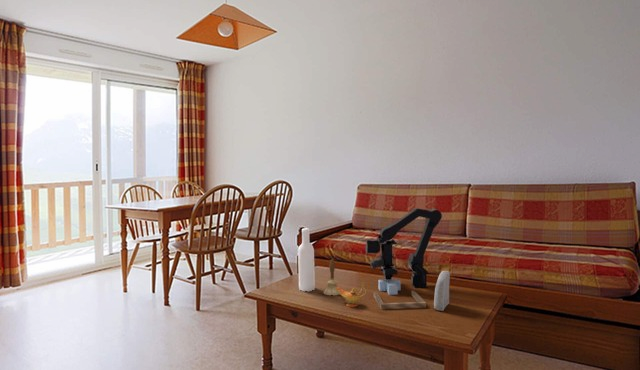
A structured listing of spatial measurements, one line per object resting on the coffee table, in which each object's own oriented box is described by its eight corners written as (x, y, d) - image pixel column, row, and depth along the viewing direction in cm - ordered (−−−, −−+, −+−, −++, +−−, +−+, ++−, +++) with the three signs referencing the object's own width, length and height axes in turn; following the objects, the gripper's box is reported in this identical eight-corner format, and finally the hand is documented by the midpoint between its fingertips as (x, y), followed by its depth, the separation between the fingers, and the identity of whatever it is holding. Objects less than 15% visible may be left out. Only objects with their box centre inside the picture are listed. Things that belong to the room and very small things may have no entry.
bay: (414, 294, 176) (414, 290, 176) (426, 307, 160) (426, 302, 160) (373, 296, 175) (373, 292, 175) (381, 309, 159) (381, 304, 159)
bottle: (314, 286, 192) (313, 227, 191) (315, 291, 185) (313, 229, 184) (299, 287, 192) (297, 227, 191) (298, 291, 184) (297, 230, 183)
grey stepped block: (398, 287, 187) (398, 279, 187) (404, 294, 177) (403, 284, 177) (378, 288, 187) (378, 279, 187) (382, 295, 177) (382, 285, 177)
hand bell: (343, 291, 184) (342, 258, 183) (337, 296, 176) (336, 262, 176) (327, 289, 187) (327, 257, 187) (320, 294, 180) (320, 260, 179)
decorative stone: (446, 312, 154) (445, 275, 153) (431, 310, 157) (430, 274, 156) (451, 304, 163) (450, 269, 163) (436, 302, 166) (436, 267, 166)
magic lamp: (337, 297, 175) (336, 273, 174) (370, 305, 163) (370, 280, 163) (327, 301, 169) (327, 277, 169) (361, 310, 158) (361, 284, 157)
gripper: (367, 249, 198) (368, 279, 199) (374, 257, 179) (374, 290, 180) (389, 249, 198) (389, 278, 199) (397, 257, 180) (398, 289, 180)
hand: (387, 284), depth 189 cm, fingers closed
